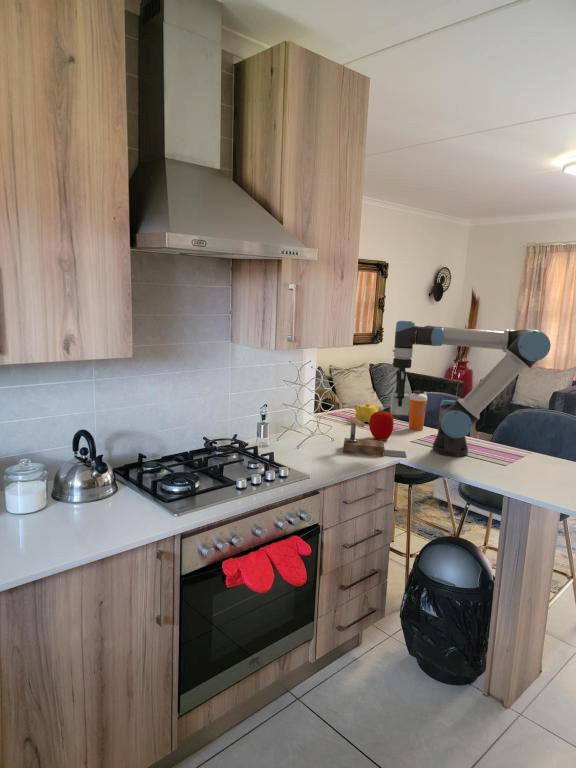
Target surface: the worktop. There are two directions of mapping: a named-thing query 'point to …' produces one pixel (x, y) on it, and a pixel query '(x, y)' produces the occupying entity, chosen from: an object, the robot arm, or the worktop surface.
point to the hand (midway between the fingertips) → (398, 411)
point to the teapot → (365, 412)
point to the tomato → (381, 425)
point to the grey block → (405, 404)
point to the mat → (395, 453)
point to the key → (353, 427)
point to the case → (364, 447)
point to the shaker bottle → (417, 410)
